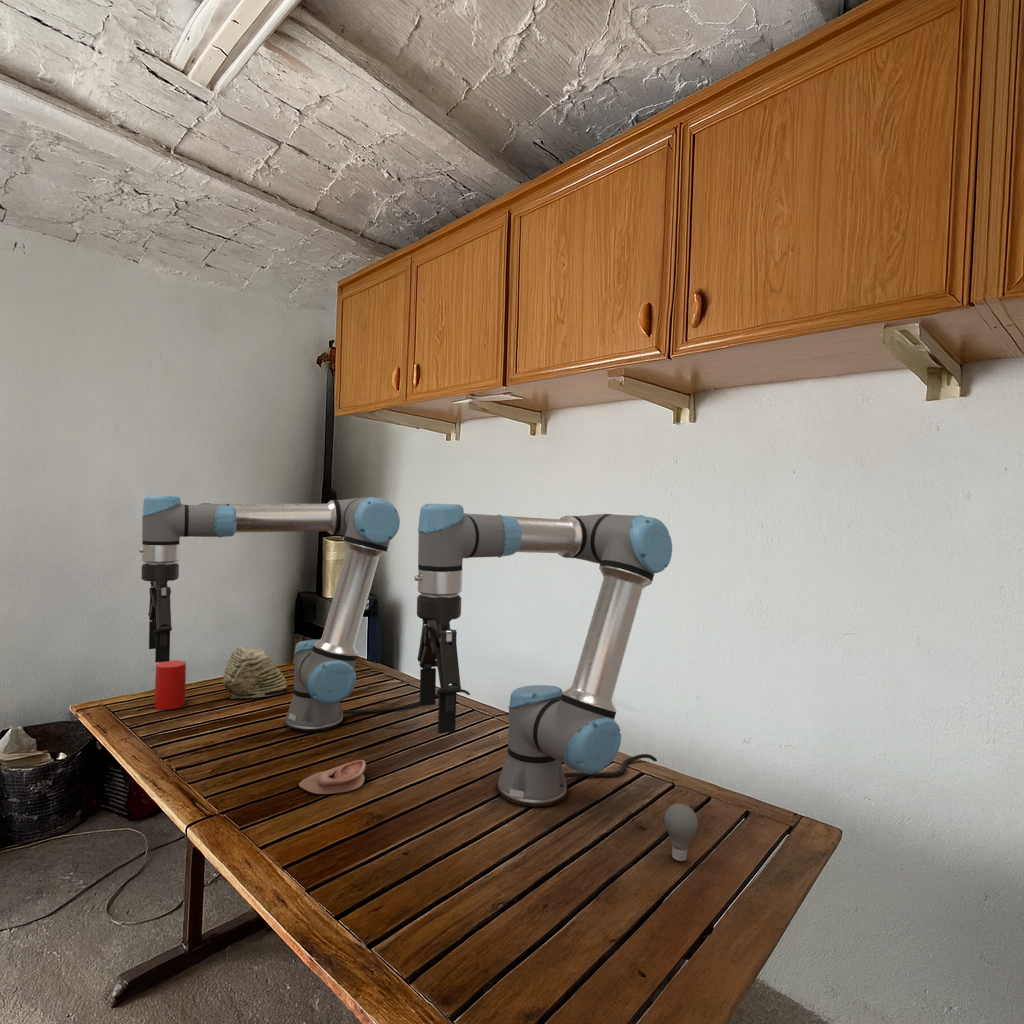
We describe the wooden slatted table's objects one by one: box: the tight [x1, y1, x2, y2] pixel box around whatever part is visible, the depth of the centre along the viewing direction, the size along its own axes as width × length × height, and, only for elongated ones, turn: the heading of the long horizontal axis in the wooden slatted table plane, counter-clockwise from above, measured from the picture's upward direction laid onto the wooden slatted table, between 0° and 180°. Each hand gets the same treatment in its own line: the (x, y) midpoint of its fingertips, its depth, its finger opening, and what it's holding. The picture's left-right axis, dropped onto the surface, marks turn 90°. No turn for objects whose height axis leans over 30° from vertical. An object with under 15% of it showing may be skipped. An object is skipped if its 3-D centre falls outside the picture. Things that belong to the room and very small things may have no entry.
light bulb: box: [663, 802, 699, 862], centre depth 116 cm, size 6×6×10 cm
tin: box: [153, 659, 187, 711], centre depth 185 cm, size 8×8×12 cm
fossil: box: [222, 646, 288, 699], centre depth 198 cm, size 9×18×15 cm, turn 132°
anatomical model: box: [298, 759, 367, 795], centre depth 140 cm, size 13×4×12 cm
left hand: (158, 654), depth 146 cm, fingers open, 13 cm apart
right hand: (436, 717), depth 108 cm, fingers open, 13 cm apart
